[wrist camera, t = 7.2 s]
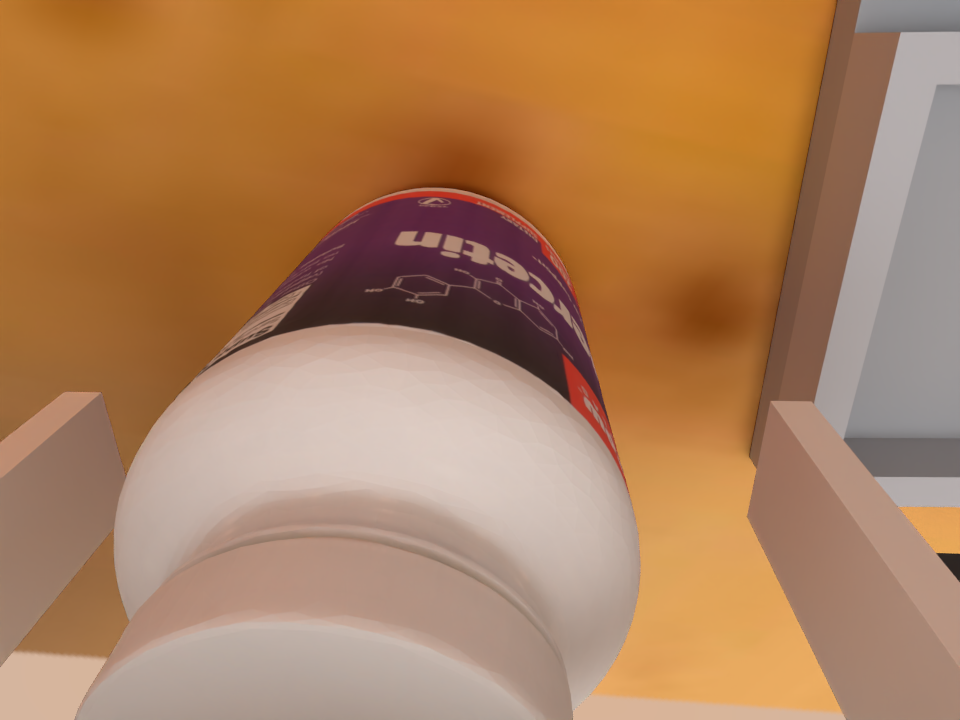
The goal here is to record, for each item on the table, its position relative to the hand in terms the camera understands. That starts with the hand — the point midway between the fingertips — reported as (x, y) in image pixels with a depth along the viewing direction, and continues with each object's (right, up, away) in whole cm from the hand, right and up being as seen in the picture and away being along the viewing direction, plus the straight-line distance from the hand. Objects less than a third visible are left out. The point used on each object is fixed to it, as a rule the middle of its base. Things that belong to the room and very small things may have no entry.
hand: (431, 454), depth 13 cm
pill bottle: (0, +3, +7) cm, 8 cm away
